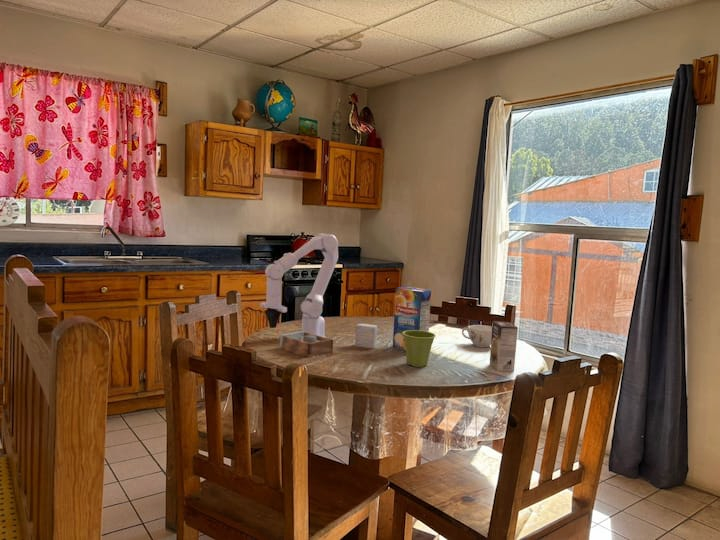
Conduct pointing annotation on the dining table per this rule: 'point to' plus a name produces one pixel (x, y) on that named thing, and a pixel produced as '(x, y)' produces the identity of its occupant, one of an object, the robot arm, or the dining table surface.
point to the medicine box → (366, 336)
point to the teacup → (479, 335)
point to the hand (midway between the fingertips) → (272, 327)
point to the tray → (293, 336)
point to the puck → (309, 338)
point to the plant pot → (418, 347)
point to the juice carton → (410, 313)
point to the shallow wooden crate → (308, 346)
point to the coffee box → (503, 346)
